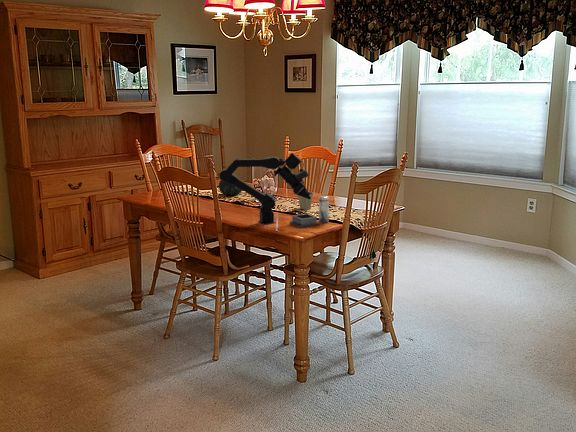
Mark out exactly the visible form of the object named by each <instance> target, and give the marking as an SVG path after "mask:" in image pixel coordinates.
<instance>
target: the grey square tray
mask: <svg viewBox="0 0 576 432" xmlns="http://www.w3.org/2000/svg"><path fill="white" fill-rule="evenodd" d="M291 217H292V220H290V221H289V224H290V225H292V226H296V227H298V228H300V229H302V228H308V227H314V226H320V222H319V221H317V216H314V215H312V214H311V213H310V214H309V213H301V214H295V215H292V216H291Z"/></svg>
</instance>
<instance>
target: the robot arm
mask: <svg viewBox="0 0 576 432" xmlns="http://www.w3.org/2000/svg"><path fill="white" fill-rule="evenodd" d="M302 162H303V161H302V159H301V158H300V157H299V156H298V155H296V154H295V153H294V152H291V153H290V154H289V155H288V156H287V157H286V158H279V157H277V156H276V155H274V156H268V157H264V158H234V160H233V161H232V162H231V163H230V164H229V165H228V166H227V168H223V169H222V170H221V171H220V173H219V179H220V180H222V181H224V182H226V183H229V184H233V185H235V186H237V187H238V188H240V189H242V191H243V192H245V193H246V194H248V195H249V196H250V197H253V199H254V198H255V199H256V200H257V201H258V202H259V204H261V205H260V208H259V212H258V213H259V220H258V223H259V224H262V225H268V224H274V223H275V214H274V210H273V209H274V208H275V207H276V203H277V202H276V198H275V197H274V194H270V193H269V192H268V191H266V192H265V193H264V192H262V191H260V190H259V189H257V188H255V187H254V186H252V185H250V184H249V183H247V181H246V182H245V181H244V180H242V179H241V178H239V177H238V176H237V175H236V174H235V172H236V170H237V169H238V168H242V167H243V168H245V167H246V168H251V167H253V168H258V167H259V168H260V167H261V168H265V169H270V170H273V176H274V177H276V176H277V175H278V176H279V177H280V178H281V179H282V180H284V181H285V183H286V184H287V185H289V186H290V187H291V189H292V191H293V193H294V194H295V195H296V196H298V195H299V196H302V197H304V198H307V199H311V197H310V196H309V195H310V193H309V192H310V191H308V189H307V188H306V185H305V181H304V179H305V178H308V177H309V176H310V175H309V173H308V171H307V169H303V168H300V169H298V170H299V172H297V173H296V172H293V171H292V170H295V169H296V168H297V167H298V166H299V165H300V164H301V163H302Z"/></svg>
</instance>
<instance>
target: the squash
mask: <svg viewBox="0 0 576 432" xmlns="http://www.w3.org/2000/svg"><path fill="white" fill-rule="evenodd" d="M218 189H219V191H220V193H222V194H224V195H225V196H227V195H229V196H230V195H233V196H237V195H239V194H241V192H242V191H243V190H242V189H240V188H238V187H237V186H235V185H233V184H229V183H226V182H224V181H222V180H221V179H220V180H219V183H218Z"/></svg>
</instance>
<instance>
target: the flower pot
mask: <svg viewBox="0 0 576 432" xmlns="http://www.w3.org/2000/svg"><path fill="white" fill-rule="evenodd" d="M308 192H309V193H310V195H309V196H310V197H311V199H307V198H304V197H302V196H299V195H297V198H298V203H299V208H300V210H301V209H302V210H308V209H309V210H310V209H312V202H313V197H314V196H313V195H314V193H315V192H312V191H308Z"/></svg>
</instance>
